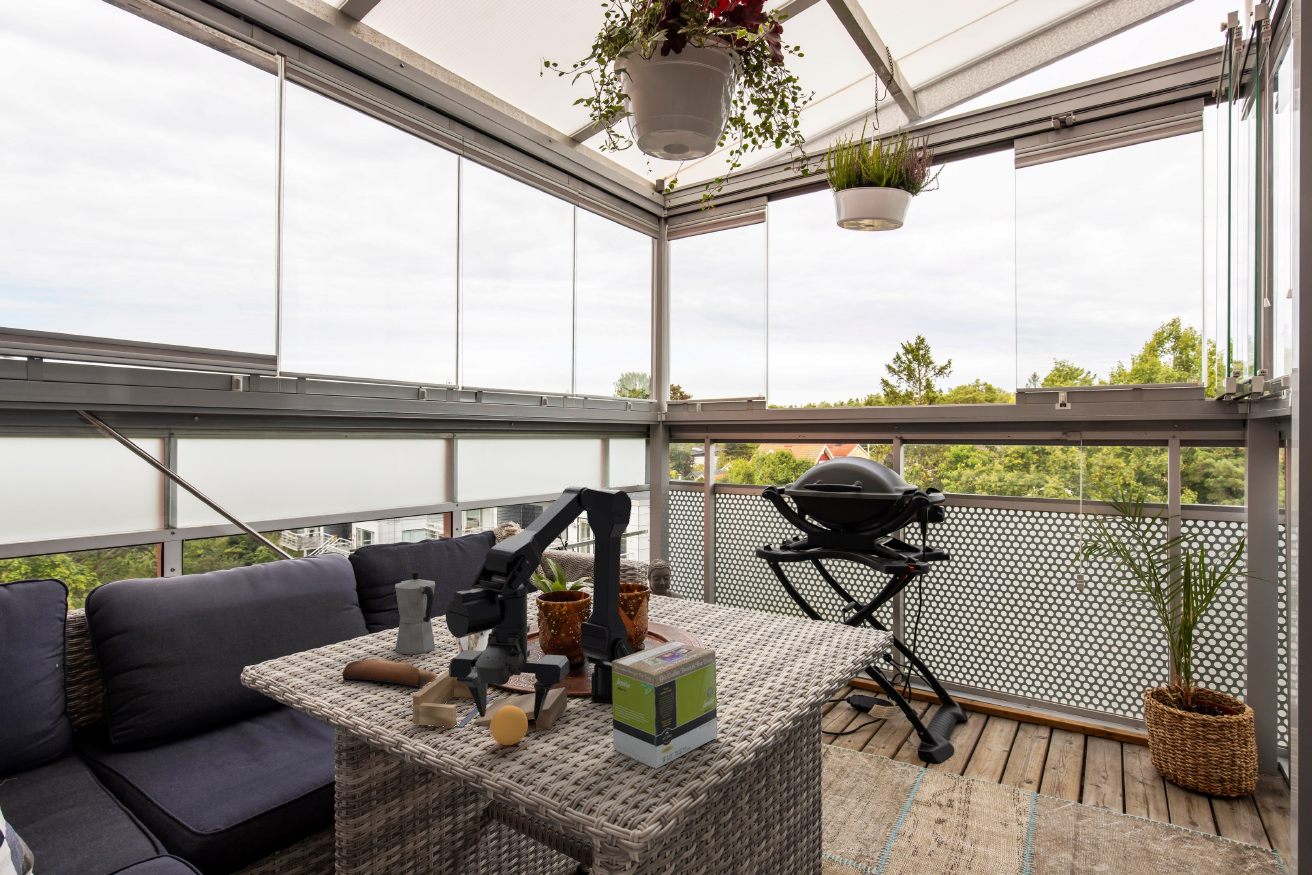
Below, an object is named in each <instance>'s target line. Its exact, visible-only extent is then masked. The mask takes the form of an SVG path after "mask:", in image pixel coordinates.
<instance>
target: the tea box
mask: <svg viewBox="0 0 1312 875" xmlns="http://www.w3.org/2000/svg"><path fill="white" fill-rule="evenodd" d="M716 655H717V654H716V651H715V650H714V651H713V650H710V649H707V648H702V647H699V646H696V645H695V646H694V645H691V644H687V643H684V642H679V641H675V639H673V640H670V641H666V642H664V643H661V644H660V643H659V644H658V645H655V646H652V647H649V648H646V649H643V650H640V651H637V652H636V653H634V654H631V655H629V656H626V657H623V658H620V659H617V660H614V661H612V689H613V691H612V694H613V703H612V736H613V738H612V744H613V749H614V750H615V752H617V753H620V754H623V755H625V756H627V757H629V758H631V759H632V760H635V761H637V762H639V763H642V764H644V765H646V766H649V767H650V768H653V769H655V770H657V769H659V768H661V767H663V766H664V765H666V764H668V763H670V762H672V761H674V760H676V759H677V758H680V757H681V756H683V755H685V754H687V753H689V752H691V751H693V750H695V749H698V748H699V747H701V746H703V745H704V744H706V743H708V742H711V741H712V740H714V739H717V738H718V715H717V714H718V706H717V704H718V702H717V700H718V697H717V696H718V695H717V666H716V663H717V662H716V661H717V659H716V658H717V657H716Z"/></svg>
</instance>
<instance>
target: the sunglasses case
mask: <svg viewBox="0 0 1312 875" xmlns="http://www.w3.org/2000/svg"><path fill="white" fill-rule="evenodd" d="M438 677H439V675H438V674H437V673H435V672H433V671H431V670H426V669H424V668H419V667H416V666H414V665H413V664H412V663H410V662H400V661H396V660H395V661H392V660H384V659H374V658H367V659H359V660H354V661H350V662H348V663H347V665H345V667H344V669H343V672H342V679H343V680H345V679H346V680H359V681H360V680H362V681H367V680H371V681H375V682H383V683H384V682H385V683H390V684H397V685H398V684H399V685H404V686H405V685H406V686H413V687H417V688H418V689H421V688H424V686H425V687H426V686H427V685H429V684H430V683H431V682H433V681H434V680H435V679H437V678H438Z"/></svg>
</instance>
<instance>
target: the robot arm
mask: <svg viewBox="0 0 1312 875" xmlns="http://www.w3.org/2000/svg"><path fill="white" fill-rule="evenodd" d="M632 503H633V502H632V499H631V497H630V496H629V495H628V493H627V492H626V491H624V490H617V489H616V490H615V489H605V488H604V489H602V488H596V489H593V488H592V489H591V488H590V487H588V486H577V485H576V486H575V485H570V486H568V487H566V488H565V489H564V490H563V491H562V493H561V495H560V496H559V497H558V498H557V499H556V500H555V501H553V502H552V504H550V505H549V506H548V507H547V508H545V510H544V511H543V512H541V514H540V515H539V516H537V517H536V518H535V520H533V521H532V522H531V523H530V524H529V525H528V526H527V527H526V528H525V529H523V530H522V531H521V532H519V533H517V534H514V535H511V536H508V537H506V538H504V539H503V540H501V541H500V542H498V543H497V544H495V545H493V546H492V547H491V548H490V549H489V550H488V551H487V553H486V554H485V560H484V561H483V564H482V565H481V567H480V569H479V571H478V573H477V575H476V577H475V579H474V580H473V582H472V584H471V589H469V590H459V591H455V592H453V593H454V595H453V597H454V598H453V600H451V602H450V603H449V604H448V607H447V610H446V612H445V623H446V627H447V628H448V631H449V633H450V634H451V635H452V636H453V637H455V639H456V638H462V637H466V636H469V635H473V634H476V633H480V632H483V631H487V630H490V629H491V630H490V633H489V637H488V643H487V646H486V649H485V650H484V651H475V650H464V651H463V652H461V653H460V654H459V653H458V654H456V656H454V657H453V658H452V659H450V662H449V664H448V670H449V676H450V677H457V681H458V682H462V683H463V684H465V685H466V686H467V687H468V688H469V690H470V692H471V694H472V696H473V698H472V699H473V702H474V704H475V708H476V707H477V709H478V714H479V716H480V717H484V716H485V713H486V710H487V705H488V703H487V697H488V684H493V685H497V686H503V685H506V684H508V682H509V680H510V677H513V676H521V674H534V678H535V679H536V680H537V681H536V682H534V684H533V688H534V691H535V692H534V693H535V704H534V719H533V721H534V723H536V722H537V721H538V719H539V717H540V714H541V711H542V709H543V706H544V703H545V700H546V697H547V695H548V692H549V690H551V689H553V687H555V685H557V684H560V683H561V682H563V680H564V679H565V678H566V676H567V675H568V674H569V673H570V660H569V659H568V658H567V656H566V655H558V654H557V655H556V654H555V655H554V654H545V655H544V656H543V657H542V658H541V659H540V660H539V661H537V660H528V658H530V655H531V654H530V649H528V633H529V632H530V631H531V626H530V624H529V625H528V594H532V593H533V594H534V593H537V592H538V591H539V588H538V587H537V586H536V585H535V584H533V583H532V582H531V580H530V579H531V577H532V576H533V574H534V573H535V572H536V570H537V569H538V568H539V567H540V565H541V562H542V558H543V554H544V552H545V551H546V550H547V549H548V548H549V546H550V545H551V544H552V543H554V541H556V539H558V537H559V536H561V535H562V533H564V531H565V530H567V529H568V527H570V525H572V523H573V522H574V521H576V519H578V517H579V516H581V514H583V512H586V519H587V523H588V525H589V527H590V529H591V532H592V534H593V536H594V556H593V585H592V587H593V590H592V613H591V614H590V615H589V618H588V619H587V620H586V621H582V622H581V625H580V632H581V633H580V640H579V644H580V645H581V647H582V648H581V649H582V651H583V653H584V654H585V657H586V662H587V664H592V665H594V666H593V671H592V672H591V674H590V676H591V678H590V679H591V682H590V685H591V686H590V688H591V690H590V692H591V695H592V697H591V702H594V703H595V702H596V703H597V702H598V703H610V704H613V694H612V691H613V689H612V661H614V660H617V659H620V658H623V657H626V656H629V655H631V654H634V653H637V652H636V651H635V650H634V649H633V647H632V646H631V645H630V644H629V643H628V642H629V641H628V630H627V627H626V625H625V622H624V621H623V618H622V616H621V614H620V587H621V586H620V580H621V551H622V550H621V549H622V548H621V547H622V536H623V534H624V533H625V531H626V529H627V528H628V526H629V525H630V521H631V514H632ZM494 580H496V581H494ZM503 582H504V583H503Z"/></svg>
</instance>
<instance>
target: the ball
mask: <svg viewBox="0 0 1312 875" xmlns="http://www.w3.org/2000/svg"><path fill="white" fill-rule="evenodd" d="M528 721H529V720H527V717H526V714H525V713H524V711H523V710H522V709H520V708H519V707H516V706H512V705H509V706H504V707H502V708H500V709H499V710H498V711H497V712H496V713H495V714H494V715H493V717H492V720H491V724H490V725H489V728H490V734H491V736H492V738H493V739H494V740H495V741H496V742H497V743H498V744H500V745H503V746H512V745H515V744H517V743H519V742H520V741H521V740H523V738H524V737H525V735H526V733H527V731H528V726H529V725H528V724H529V722H528Z"/></svg>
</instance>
